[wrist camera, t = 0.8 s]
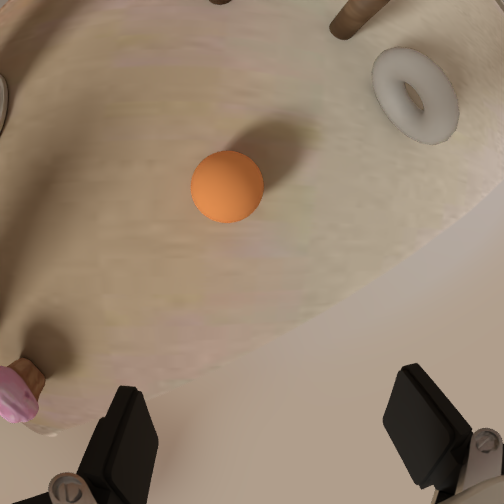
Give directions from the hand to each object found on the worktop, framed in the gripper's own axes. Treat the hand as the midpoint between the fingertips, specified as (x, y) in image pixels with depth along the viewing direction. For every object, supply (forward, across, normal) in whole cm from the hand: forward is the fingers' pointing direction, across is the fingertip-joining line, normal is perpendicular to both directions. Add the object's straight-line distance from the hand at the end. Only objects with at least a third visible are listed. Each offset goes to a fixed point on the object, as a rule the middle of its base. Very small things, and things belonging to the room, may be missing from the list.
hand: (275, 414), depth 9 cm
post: (+20, -10, -24) cm, 33 cm away
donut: (+21, -15, -16) cm, 30 cm away
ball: (+17, +2, -7) cm, 19 cm away
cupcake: (+20, +33, +16) cm, 42 cm away
